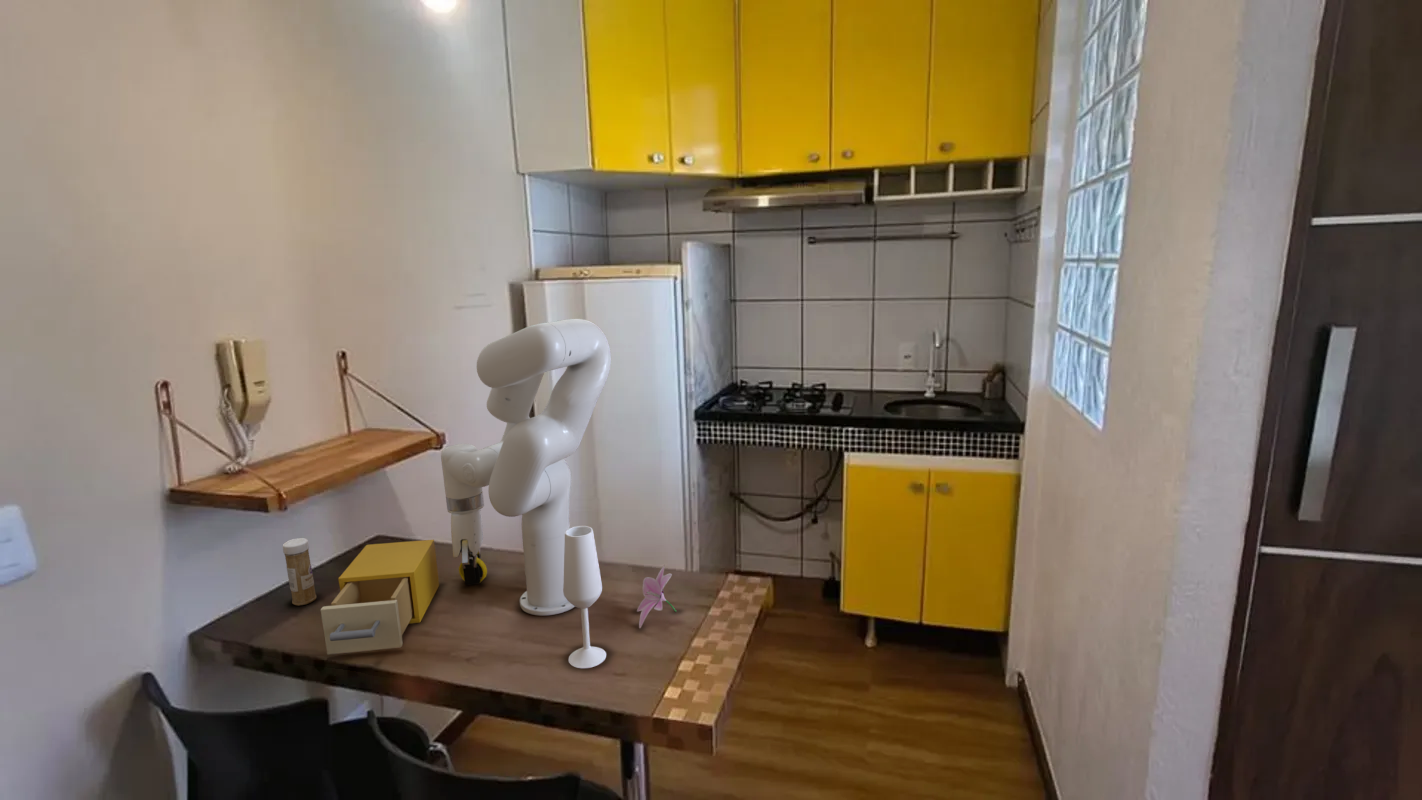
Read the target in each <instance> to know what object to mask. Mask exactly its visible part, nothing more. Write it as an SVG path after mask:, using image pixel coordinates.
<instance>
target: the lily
mask: <svg viewBox="0 0 1422 800" xmlns="http://www.w3.org/2000/svg"><path fill="white" fill-rule="evenodd" d="M665 567H666V564H663V566H661V568H660V569H659V572H658V574H657V576H656V578H654V577H651V576H645V577H644V578H643V581H642V594H643V597H644V598H643V599H642V601H641V602H640V603H639V604H638V607H637V610H636V612H637V613H638V612H640V615H639V620H638V628H639V629H641V628H642V627H643V624H644V622H645V621H646V619H647V617H648V615H649V613H650V612H651V610H652V609H653V610H655V611H663V608H664V607H663V602H666V603H667V604H668V605H669V606H670V607H671V609H672V610H673V611H674V612H675V613H677V610H676V608H675V607H674V606H673V605H672V603H671V602H670V601H668V600H667V599H666V597H665V593H664V591H665V590H664V588H665V587H666V585H667V584H668V582H669V581H670V579H671V578H672V576H673V573H666V574H665V569H666V568H665Z"/></svg>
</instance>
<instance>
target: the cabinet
mask: <svg viewBox="0 0 1422 800" xmlns="http://www.w3.org/2000/svg"><path fill="white" fill-rule="evenodd" d="M400 577H410V583H411V591H412V599H413V607H414V614H413V616H412V618H411V620H410V622H409V623H408V625H409V624H419V623H421V621H422V620H423V618H424V616H425V614H426V612H427V610H428V609H429V606H430V604H431V602H432V600H433V598H434V597H435V594H436V593H437V591H438V589H439V587H440V579H439V569H438V562H437V552H436V545H435V539H424V540H423V539H422V540H411V541H410V540H409V541H398V542H397V541H396V542H384V543H373V544H366V545H365V546H364V547H363V548H362V550H361V551H360V552H359V553H358V554H357V556H356V557H354V559H353V560H352V561H351V563H350V564H349V565H348V566H347V567H346V569H345V570H344V571H343V572H342V574H341V575H340V576H339V577H338V586H339V593H340V592H341V590H342V589H343V588H344V587H345V585H346V584H347V583H348V582H353V581H365V580H376V579H388V578H400Z"/></svg>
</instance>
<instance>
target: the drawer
mask: <svg viewBox="0 0 1422 800" xmlns="http://www.w3.org/2000/svg"><path fill="white" fill-rule="evenodd" d="M330 604H331V605H326V606H325V605H324V606H322V607H321V608H320V616H321V623H322V628H323V629H322V630H323V635H324V641H325V648H326V654H327V655H338V654H348V653H357V652H358V653H359V652H367V651H376V650H377V651H378V650H379V651H380V650H389V649H398V648H399V649H400V648H401V647H402V646H403V645H404V643H403V642H404V641H403V635H404V632H405V631H406V629H407V627H408V626H409V624H408V623H409V622H410V620H411V618H412V616H413V614H414V607H413V599H412V591H411V583H410V577H400V578H388V579H376V580H365V581H353V582H348V583H347V584H346V585H345V587H344V588H343V589H342V590H341V592H340V591H339V593H338V594H337V595H336V596H335V598H334V599H333V600H332V602H331V603H330Z"/></svg>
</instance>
